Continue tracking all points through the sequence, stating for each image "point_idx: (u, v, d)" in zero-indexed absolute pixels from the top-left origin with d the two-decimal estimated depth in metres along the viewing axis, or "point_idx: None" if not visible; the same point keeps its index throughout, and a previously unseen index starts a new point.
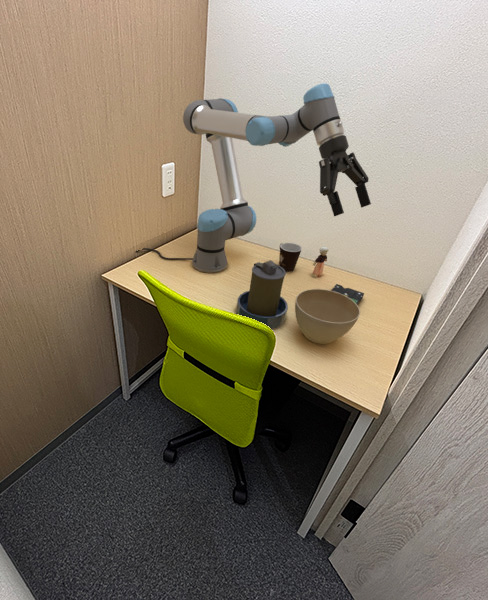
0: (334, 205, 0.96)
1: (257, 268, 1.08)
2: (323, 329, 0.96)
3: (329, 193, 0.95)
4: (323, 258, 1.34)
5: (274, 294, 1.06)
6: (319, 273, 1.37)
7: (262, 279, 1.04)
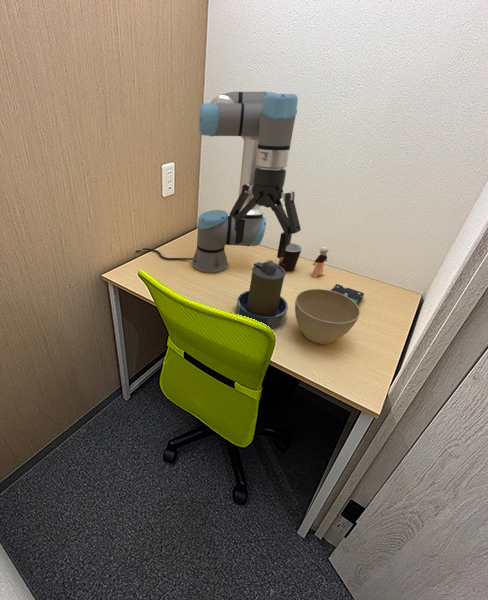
0: None
1: (257, 268, 1.08)
2: (323, 329, 0.96)
3: None
4: (323, 258, 1.34)
5: (274, 294, 1.06)
6: (319, 273, 1.37)
7: (262, 279, 1.04)
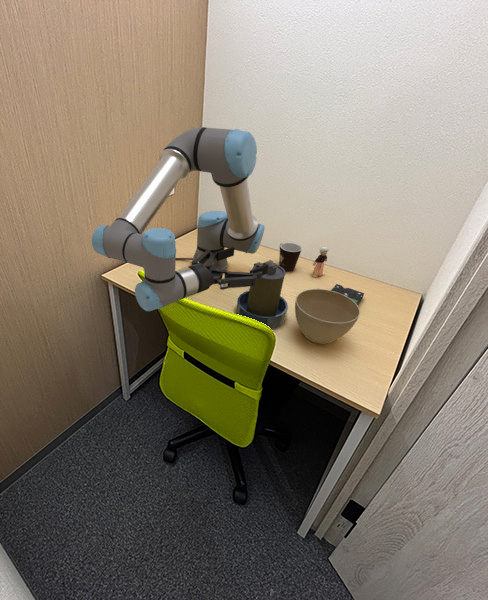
0: None
1: None
2: (323, 329, 0.96)
3: None
4: (323, 258, 1.34)
5: (274, 294, 1.06)
6: (319, 273, 1.37)
7: (262, 279, 1.04)
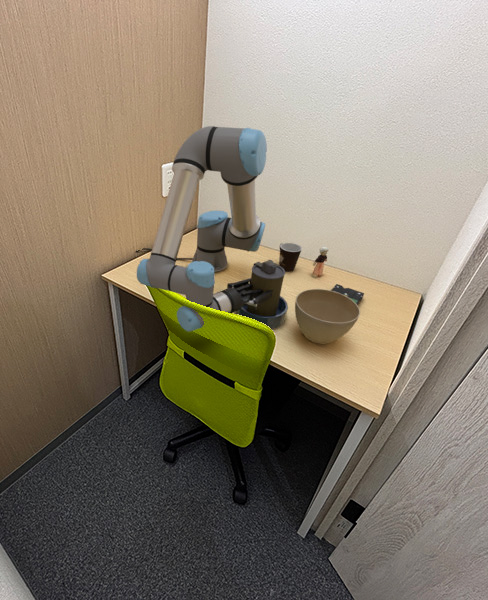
0: None
1: (257, 268, 1.09)
2: (323, 329, 0.96)
3: None
4: (323, 258, 1.34)
5: (274, 293, 1.06)
6: (319, 273, 1.37)
7: (261, 279, 1.04)
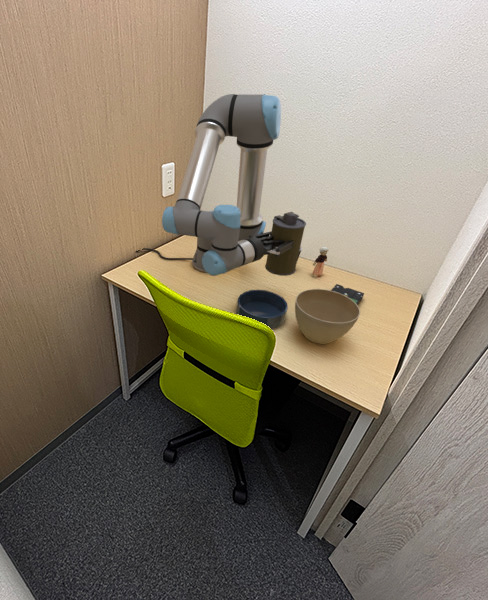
0: None
1: (277, 220, 1.11)
2: (323, 329, 0.96)
3: None
4: (323, 258, 1.34)
5: (295, 244, 1.08)
6: (319, 273, 1.37)
7: (283, 229, 1.06)
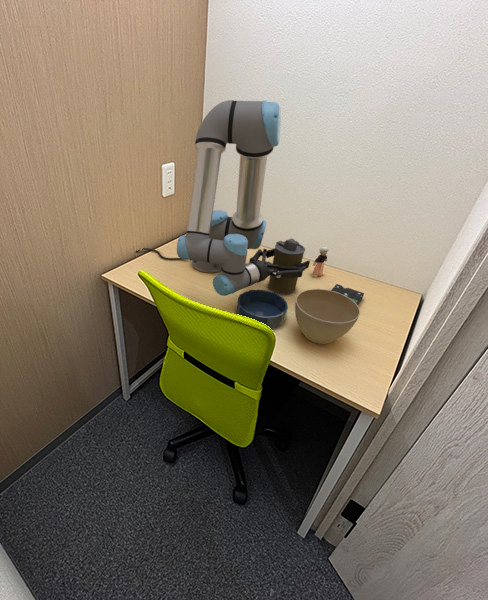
0: None
1: (279, 246, 1.23)
2: (323, 329, 0.96)
3: None
4: (323, 258, 1.34)
5: None
6: (319, 273, 1.37)
7: (284, 255, 1.18)
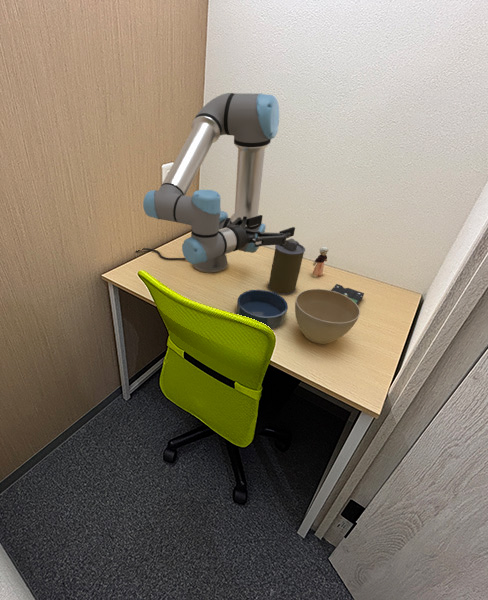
0: None
1: (279, 246, 1.23)
2: (323, 329, 0.96)
3: None
4: (323, 258, 1.34)
5: (295, 268, 1.21)
6: (319, 273, 1.37)
7: (284, 255, 1.18)
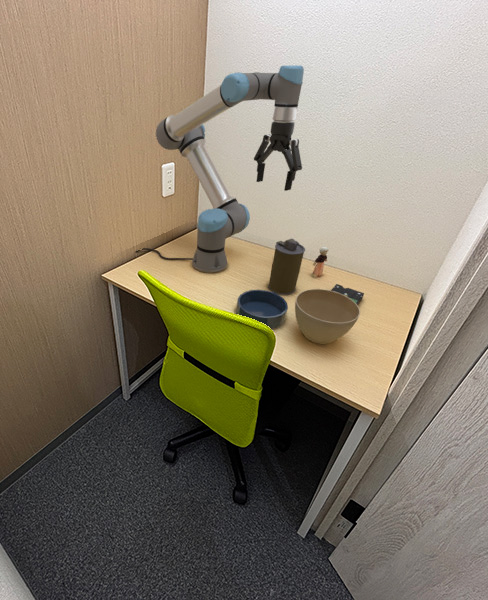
0: (289, 181, 1.18)
1: (279, 246, 1.23)
2: (323, 329, 0.96)
3: (295, 171, 1.15)
4: (323, 258, 1.34)
5: (295, 268, 1.21)
6: (319, 273, 1.37)
7: (284, 255, 1.18)
